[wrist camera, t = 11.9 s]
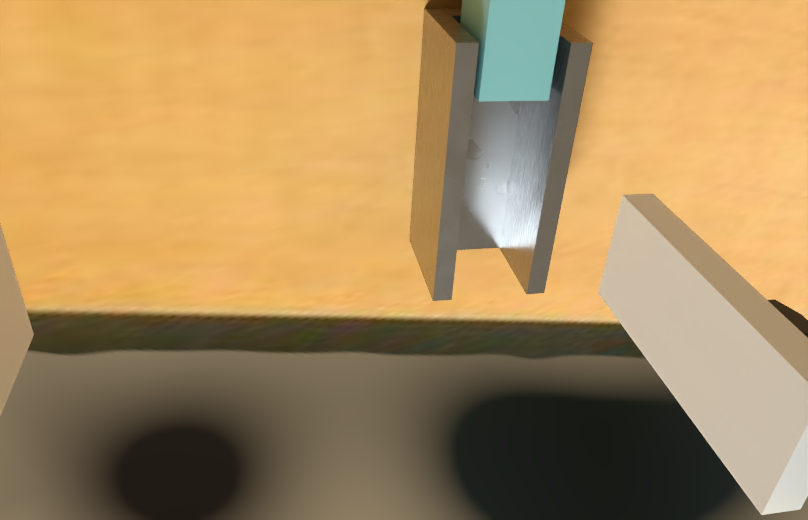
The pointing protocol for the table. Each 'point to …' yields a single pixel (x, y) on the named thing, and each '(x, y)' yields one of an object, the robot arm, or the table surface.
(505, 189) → the sleeve
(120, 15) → the table surface
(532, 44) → the bar
